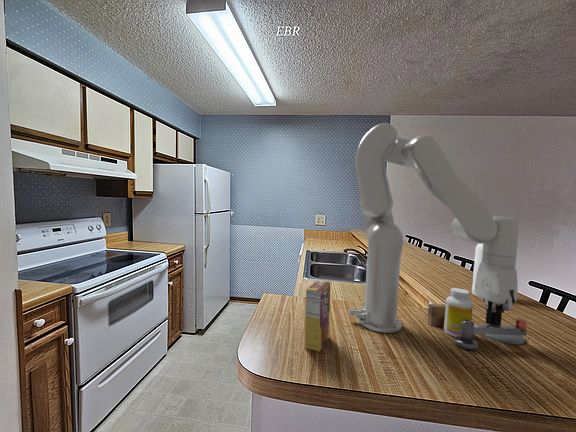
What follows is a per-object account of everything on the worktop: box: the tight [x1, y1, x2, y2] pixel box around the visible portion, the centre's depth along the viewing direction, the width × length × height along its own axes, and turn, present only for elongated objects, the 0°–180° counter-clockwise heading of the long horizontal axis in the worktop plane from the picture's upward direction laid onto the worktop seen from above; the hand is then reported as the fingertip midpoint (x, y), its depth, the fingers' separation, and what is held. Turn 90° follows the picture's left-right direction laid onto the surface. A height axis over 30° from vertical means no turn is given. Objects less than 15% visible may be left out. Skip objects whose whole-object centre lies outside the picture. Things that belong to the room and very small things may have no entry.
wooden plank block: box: [427, 303, 446, 327], centre depth 86 cm, size 12×2×6 cm, turn 92°
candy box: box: [304, 280, 331, 352], centre depth 72 cm, size 9×4×15 cm, turn 156°
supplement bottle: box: [443, 287, 473, 337], centre depth 80 cm, size 7×7×13 cm
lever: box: [454, 318, 528, 351], centre depth 74 cm, size 18×5×7 cm, turn 92°
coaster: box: [481, 323, 526, 345], centre depth 81 cm, size 11×11×1 cm
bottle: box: [471, 243, 483, 298], centre depth 116 cm, size 8×8×30 cm
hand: (492, 324), depth 78 cm, fingers closed
